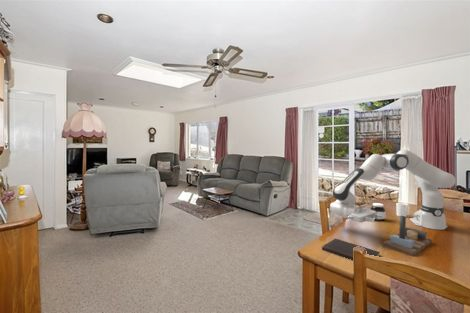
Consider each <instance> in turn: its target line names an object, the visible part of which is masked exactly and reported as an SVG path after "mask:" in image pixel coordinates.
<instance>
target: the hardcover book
mask: <svg viewBox="0 0 470 313" xmlns="http://www.w3.org/2000/svg"><path fill="white" fill-rule="evenodd" d="M356 246H360V247H363V248H365V249H366V251H367V254H369V255H374V256H378V257H379V256H380V253H381V252H380V251H377V250H375V249H373V248H372V249H371V248H368V247H365V246H361V245H358V244H355V243H352V242H348V241H345V240H341V239H337V238H333V239H331V240H330V241H329V242H327V243H326V244H324V245H322V246H321V250H323V251H324V252H325V251H326V252H327V253H331V254H334V255H336V256H339V257H342V258H344V257H345V259H347V258H348V259H347V260H350V259H351V261H353V248H354V247H356Z"/></svg>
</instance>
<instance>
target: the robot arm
mask: <svg viewBox="0 0 470 313" xmlns="http://www.w3.org/2000/svg"><path fill="white" fill-rule="evenodd" d="M404 169H406V170H407V171H408V172H409V173H411V174H412V175H414V180H415V181H416V183H418V185H419V187H420V191H421V193H422V194H421V196H422V201H421V204H420V208H419V209H418V210H417V211H415V212H414V213H413V217H410V218H409V220H410V222H412V223H413V224H414V225H416V226H418V227H422V228H427V229H431V230H446V229H447V228H448V225H447V222H446V215H445V214H444V213H445V207H444V197H445V196H444V195H443V194H442V192H440V190H439V189H450V188H452V187H454V186H455V184H456V177H455V176H454V175H453V174H452V173H449V172H447V171H444V170H443V169H441V168H438V167H437V166H435V165H432V164H431V163H429V162H427V161H425V160H424V159H423V158H421V157H420V156H418V155H417V154H416V153H415V152H412V151H410V150H408V149H400V150H399V151H397V152H396V153H383V154H378V153H373V154H371V155H370V156H369V157H368V158H366V159H365V161H364V162H363V163H362V164H361V165H360V166H359V167H358V168H355V169H354V170H353V171H352V172H350V173H349V175H347V176H346V177H345V178H344V180H342V181H341V182H340V183H339V184H337V185H336V186H335V187H334V188H333V189H332V196H333V197H334V198H335V199H336V200H334V201H333V202H330V205H329V210H330V211H331V213H332V214H333V215H335V216H337V217H340V218H347V220H352V221H354V222H358V223H362V224H363V223H364V222H370V223H375V221H376V220H375V219H373V218H378V219H382V216H380V215H378V214H377V212H376V211H374V210H370V209H371V208H365V207H364V206H356V203H357V198H356V196H355V195H354V194H353V192H351V188H352V187H353V186H354V184H356V183H357V182H358V181H359V180H363V181H372V180H374V179H375V178H376V177H377V176H378V174H379V173H380V172H381V171H382V170H389V171H401V170H404Z"/></svg>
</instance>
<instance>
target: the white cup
mask: <svg viewBox="0 0 470 313" xmlns="http://www.w3.org/2000/svg"><path fill="white" fill-rule="evenodd" d="M395 204H396V205H395V207H396V208H395V210H396V216H397V217H399V218H400V216H406V218H407V217H408V213H409V203H406V202H399V201H398V202H396V203H395Z"/></svg>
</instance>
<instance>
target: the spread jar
mask: <svg viewBox="0 0 470 313" xmlns="http://www.w3.org/2000/svg"><path fill="white" fill-rule="evenodd" d="M369 209H370V210H374V211H376V212H377V214H378V215H380V216H382V219H378V218H373V219H375V221H381V222H382V221H384V220H385V219H386V216H387V215H386V214H387V211H386V208H385V206H384V204H383V203H379V202H374V203H373V202H372V206H371V207H370V208H369Z"/></svg>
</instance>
